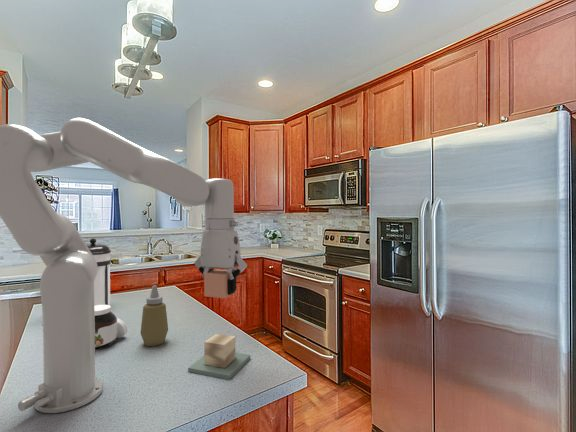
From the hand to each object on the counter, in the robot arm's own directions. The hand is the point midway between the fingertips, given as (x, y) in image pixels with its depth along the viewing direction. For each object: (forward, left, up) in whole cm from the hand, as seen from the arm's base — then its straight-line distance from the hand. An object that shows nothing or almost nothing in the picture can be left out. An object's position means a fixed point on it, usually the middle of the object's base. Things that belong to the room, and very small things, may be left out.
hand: (220, 291), depth 87 cm
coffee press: (+22, +73, -20) cm, 79 cm away
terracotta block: (0, 0, -1) cm, 1 cm away
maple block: (0, 0, -19) cm, 19 cm away
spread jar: (+1, +42, -20) cm, 47 cm away
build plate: (0, 0, -20) cm, 20 cm away
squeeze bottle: (+6, +27, -20) cm, 34 cm away
